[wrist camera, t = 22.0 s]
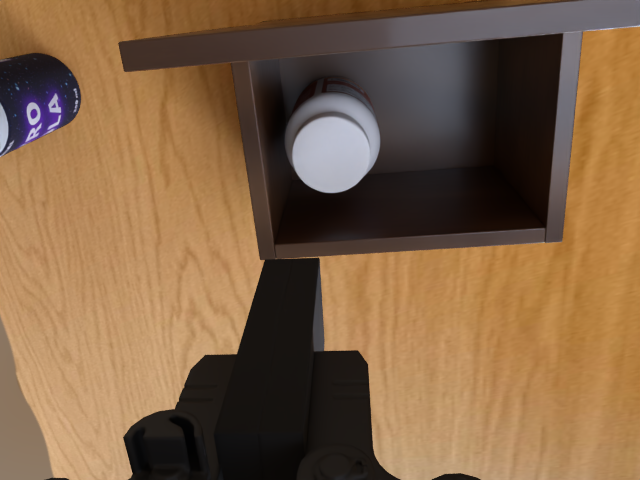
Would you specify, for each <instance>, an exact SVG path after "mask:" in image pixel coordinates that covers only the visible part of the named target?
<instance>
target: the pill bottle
mask: <svg viewBox="0 0 640 480" xmlns="http://www.w3.org/2000/svg"><path fill="white" fill-rule="evenodd" d="M379 149H380V132H379V127H378V124H377V120H376V116H375V112H374V108H373V105H372V102H371V100H370V98H369V96H368V95H367V94H366V92H365V91H364V90H363V89H362V88H361V87H360V86H359V85H358V84H356V83H355V82H353V81H351V80H349V79H346V78H342V77H326V78H322V79H319V80H317V81H315V82H313V83H312V84H310V85H309V86H308V87H307V88H306V89H305V90H304V91H303V92H302V93H301V95H300V96H299V98H298V99H297V101H296V104H295V106H294V109H293V111H292V113H291V116H290V119H289V121H288V124H287V128H286V132H285V150H286V154H287V157H288V160H289V162H290V164H291V165H292V167H293V168H294V170H295V171H296V173H297V175H298V176H299V177H300V179H301V180H302V181H303V182H304V183H305V184H306V185H308V186H309V187H311V188H313V189H315V190H317V191H320V192H325V193H338V192H342V191H345V190H348V189H350V188H352V187H353V186H355V185H356V184H357V183H358V182H359V181H360V180H361V179H362V178H363V177H364V176H365V175H366V174H367V173H368V172H369V171H370V169H371V168H372V167H373V165H374V163H375V161H376V159H377V156H378V153H379Z"/></svg>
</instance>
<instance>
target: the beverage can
mask: <svg viewBox="0 0 640 480" xmlns="http://www.w3.org/2000/svg"><path fill="white" fill-rule="evenodd" d="M80 103H81V94H80V89H79V85H78V83H77V80H76V78H75V77H74V75H73V74H72V72H71V71H70V70H69V69H68V67H67V66H66V65H64V64H63V63H62V62H61V61H59V60H58V59H56V58H54V57H52V56H50V55H46V54H42V53H31V54H26V55H21V56H16V57H11V58H6V59H2V60H0V157H1V156H3V155H5V154H7V153H9V152H11V151H13V150H15V149H17V148H19V147H21V146H23V145H25V144H28V143H30V142H32V141H34V140H36V139H38V138H40V137H42V136H44V135H46V134H48V133H50V132H52V131H54V130H56V129H58V128H61V127H63V126H65V125H67V124H68V123H70V122H71V121H72V120H73V119H74V118H75V116H76V115H77V113H78V111H79V108H80Z"/></svg>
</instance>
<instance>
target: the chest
mask: <svg viewBox="0 0 640 480" xmlns="http://www.w3.org/2000/svg"><path fill="white" fill-rule="evenodd" d="M505 1H516V0H485V1H475V2H464V3H453V4H443V5H432V6H421V7H411V8H400V9H389V10H379V11H368V12H358V13H347V14H336V15H326V16H315V17H304V18H294V19H283V20H273V21H263V22H261V23H258V24H255V25H260V24H270V23H281V22H292V21H302V20H313V19H324V18H334V17H345V16H356V15H366V14H377V13H388V12H398V11H409V10H420V9H430V8H441V7H452V6H462V5H473V4H484V3H494V2H505ZM582 35H583V32H572V33H560V34H549V35H538V36H527V37H515V38H504V39H493V40H481V41H470V42H459V43H448V44H436V45H425V46H414V47H403V48H391V49H380V50H369V51H357V52H346V53H335V54H324V55H312V56H301V57H290V58H279V59H267V60H256V61H245V62H234V63H231V67H232V74H233V81H234V88H235V94H236V101H237V108H238V115H239V121H240V128H241V135H242V142H243V148H244V155H245V162H246V169H247V175H248V182H249V189H250V196H251V202H252V209H253V216H254V222H255V229H256V236H257V243H258V249H259V256H260V260H265V259H276V258H277V259H285V258H301V257H318V256H334V255H350V254H367V253H383V252H400V251H416V250H432V249H449V248H465V247H482V246H498V245H514V244H531V243H544V242H545V243H552V242H562V238H563V228H564V218H565V208H566V198H567V187H568V177H569V167H570V157H571V147H572V137H573V127H574V116H575V106H576V96H577V86H578V76H579V66H580V56H581V45H582ZM326 77H342V78H346V79H349V80H351V81H353V82H355V83H356V84H358V85H359V86H360V87H361V88H362V89H363V90H364V91H365V92H366V94H367V95H368V96H369V98H370V100H371V102H372V105H373V108H374V112H375V116H376V120H377V124H378V127H379V132H380V149H379V153H378V156H377V159H376V161H375V163H374V165H373V167H372V168H371V169H370V171H369V172H368V173H367V174H366V175H365V176H364V177H363V178H362V179H361V180H360V181H359V182H358V183H357V184H356V185H355V186H353V187H352V188H350V189H348V190H345V191H342V192H338V193H325V192H320V191H317V190H315V189H313V188H311V187H309V186H308V185H306V184H305V183H304V182H303V181H302V180H301V179H300V177H299V176H298V175H297V173H296V171H295V170H294V168H293V167H292V165H291V164H290V162H289V160H288V157H287V154H286V150H285V132H286V128H287V124H288V121H289V119H290V116H291V113H292V111H293V109H294V106H295V104H296V101H297V99H298V98H299V96H300V95H301V93H302V92H303V91H304V90H305V89H306V88H307V87H308V86H309V85H310V84H312V83H313V82H315V81H317V80H319V79H322V78H326Z"/></svg>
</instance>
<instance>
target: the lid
mask: <svg viewBox="0 0 640 480" xmlns="http://www.w3.org/2000/svg"><path fill="white" fill-rule="evenodd" d="M639 26H640V0H516V1H505V2H494V3H484V4H473V5H462V6H452V7H441V8H430V9H420V10H409V11H398V12H388V13H377V14H366V15H356V16H345V17H334V18H324V19H313V20H302V21H292V22H281V23H270V24H260V25H249V26H238V27H228V28H219V29H212V30H204V31H197V32H189V33H182V34H174V35H167V36H159V37H152V38H144V39H137V40H129V41H122V42H119V43H118V44H119V49H120V54H121V58H122V63H123V68H124V71H125V72H132V71H143V70H155V69H166V68H177V67H188V66H200V65H211V64H222V63H234V62H245V61H256V60H267V59H279V58H290V57H301V56H312V55H324V54H335V53H346V52H357V51H369V50H380V49H391V48H403V47H414V46H425V45H436V44H448V43H459V42H470V41H481V40H493V39H504V38H515V37H527V36H538V35H549V34H560V33H572V32H583V31H594V30H605V29H617V28H628V27H639Z"/></svg>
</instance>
